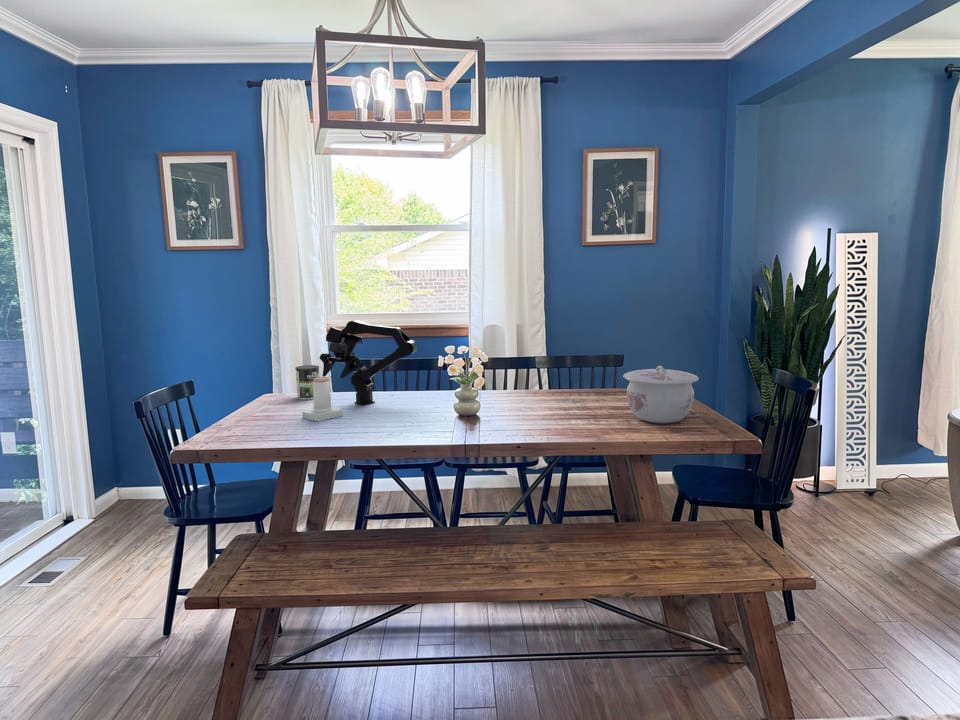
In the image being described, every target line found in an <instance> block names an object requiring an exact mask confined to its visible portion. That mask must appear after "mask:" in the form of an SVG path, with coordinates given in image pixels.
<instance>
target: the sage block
mask: <svg viewBox="0 0 960 720" xmlns="http://www.w3.org/2000/svg"><path fill="white" fill-rule="evenodd" d="M301 413H302V414H301V415H302V419H305V418H306V419H305V420H309V419H310V421H313V420H314V421H313V422H316V421H319V422H322V421H321V420H323V421H327V420H331V419H330V418H332V419H335V417H336V418H339V416H340V417H343V416H344V409H341V408H338V407H337V408H336V407H333V406H332V411H330V412H326V413H315V412H313V409H309V410H304V411H302V412H301ZM326 419H327V420H326Z"/></svg>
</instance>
